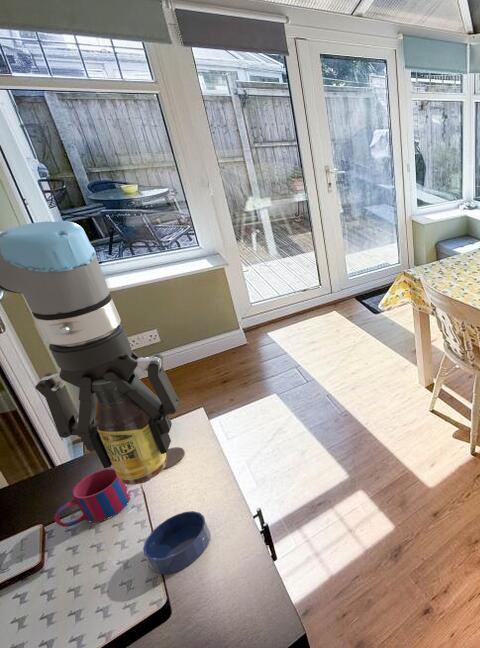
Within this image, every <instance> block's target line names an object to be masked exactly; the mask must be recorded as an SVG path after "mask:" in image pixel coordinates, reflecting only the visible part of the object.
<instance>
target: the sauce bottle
mask: <svg viewBox="0 0 480 648" xmlns="http://www.w3.org/2000/svg"><path fill="white" fill-rule="evenodd" d="M127 383H128V382H127ZM91 386H92V390H93V391H94V392H95V394H96V397H97V404H98V407H97V408H98V409H97V415H96V416H97V417H96V419H97V420H96V425H97V426H96V425H95V426H96V428H97V430H98V433H99V435H100V437H101V440H102V442H103V444H104V447H105V449H106V451H107V454H108V456H109V458H110V460H111V463H112V465H111V466H112V468H114V470H115V472H116V474H117V476H118V477H119V478H120V480H121V481H122V482H123V483H124V484H125V485H126V486H134V485H140V484H141V485H142V484H145V483H147V482H149V481H151V480H152V479H154V478H155V477H157V476H158V475H160V473H162V472H163V470H165V469H164V467H165V466H166V463H167V457H166V453H164V454H161V453H160V450H159V448H158V445H157V443H156V441H155V438H154V436H153V433H152V431H151V428H150V426H149V422H150V420H151V416H150V415H149V414H147V413H146V412H145V411H144V410H143V409H142V408H141V407H140V406H139V405H138V404H137V403H136V402H134V401H133V400H132V399H131V398H130V397H129V396H128V395H127V394H122V393H121V392H120V391H119V390H118V389H117V388H118V383H117V382H116V381H110V382H107V381H106V380H105V379H101V380H95V381H93V382H92V385H91Z"/></svg>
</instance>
